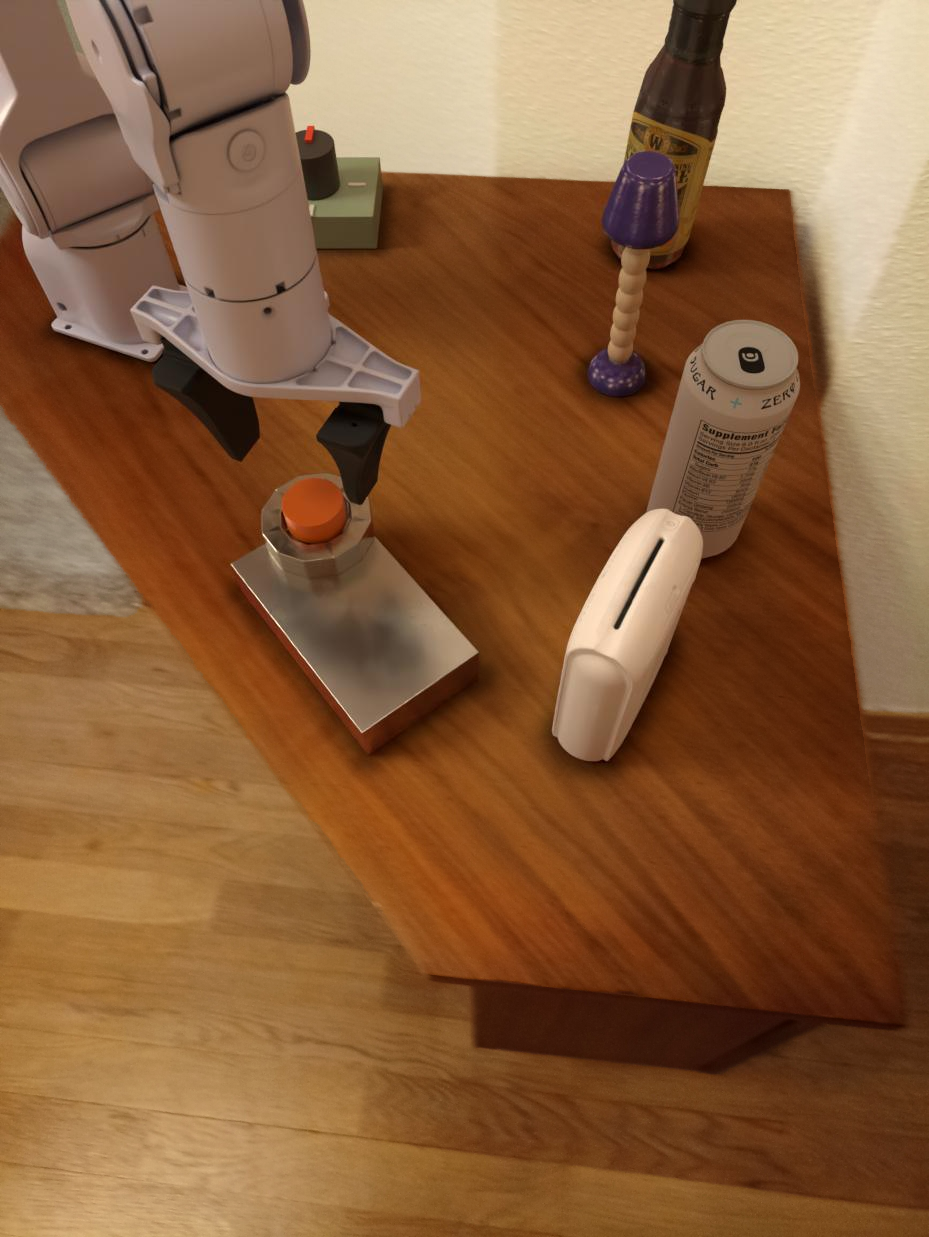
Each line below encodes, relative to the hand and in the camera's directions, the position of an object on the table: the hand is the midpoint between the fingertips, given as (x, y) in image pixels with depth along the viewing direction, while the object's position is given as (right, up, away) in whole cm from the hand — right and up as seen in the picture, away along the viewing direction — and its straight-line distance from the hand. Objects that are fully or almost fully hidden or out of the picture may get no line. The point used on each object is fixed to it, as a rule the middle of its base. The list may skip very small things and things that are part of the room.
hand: (303, 468), depth 49 cm
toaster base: (+2, -9, +5) cm, 11 cm away
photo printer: (+18, -12, +3) cm, 22 cm away
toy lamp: (+20, +9, +16) cm, 27 cm away
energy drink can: (+24, -2, +9) cm, 26 cm away
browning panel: (-3, +26, +26) cm, 37 cm away
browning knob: (-3, +27, +23) cm, 36 cm away
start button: (0, -2, +4) cm, 5 cm away
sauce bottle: (+24, +22, +24) cm, 40 cm away
